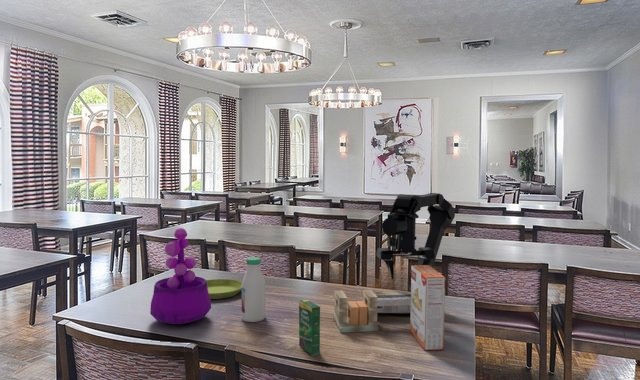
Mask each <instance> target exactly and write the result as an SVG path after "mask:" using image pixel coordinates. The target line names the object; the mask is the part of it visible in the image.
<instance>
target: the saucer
mask: <svg viewBox="0 0 640 380" xmlns="http://www.w3.org/2000/svg"><path fill="white" fill-rule="evenodd" d="M205 280H206V281H207V287H208V293H209V296H210V300H220V299H227V298H231V297H233V296H236V295H237V294H239V293H240V292H241V291H242V281H240V280H236V279H231V278H230V279H229V278H228V279H227V278H216V279H215V278H214V279H213V278H212V279H205Z"/></svg>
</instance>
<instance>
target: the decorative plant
mask: <svg viewBox="0 0 640 380" xmlns="http://www.w3.org/2000/svg"><path fill="white" fill-rule="evenodd" d="M173 236H174V238H175V239H176V240H177V241H175V240H174V241H173V240H171V241H169V242H168V243H166V245H165V246H164V252H165V254H166V255H167V256H168V258H167V259H166V261H165V266H166V267H167V268H168V269H169V270H170V269H171V270H172V269H174V274H173V276H170V277H166V278H162V279H159V280H158V281H156V282H155V283H154V285H153V295H152V298H151V301H150V310H149V311H150V312H149V313H150V315H151V316H152V317H153V319H155V320H156V321H158V322H160V323H164V324H169V325H185V324H189V323H193V322H195V321H198V320H201V319H202V318H204V317H206V315H207V314H208V313H209V312H210V310H211V309H212V299H210V296H209V293H208V287H207V281H206V280H207V279H205V278H204V277H200V276H196V274H195V271H193V270H192V269H194V268H195V266H197V260H196V259H195V258H194V257H192V256H189V257H185V250H184V249H186V248H188V246H189V240H187V239H186V238H187V236H188V233H187V230H186V229H185V228H182V227H179V228H177V229H176V230H175V231H174V235H173ZM169 256H170V257H169Z"/></svg>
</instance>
